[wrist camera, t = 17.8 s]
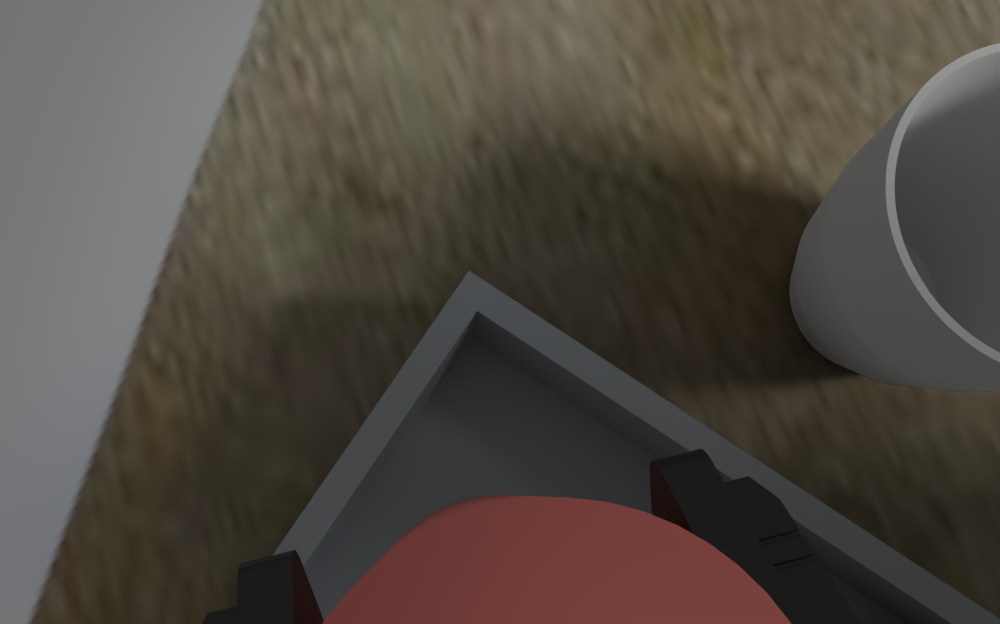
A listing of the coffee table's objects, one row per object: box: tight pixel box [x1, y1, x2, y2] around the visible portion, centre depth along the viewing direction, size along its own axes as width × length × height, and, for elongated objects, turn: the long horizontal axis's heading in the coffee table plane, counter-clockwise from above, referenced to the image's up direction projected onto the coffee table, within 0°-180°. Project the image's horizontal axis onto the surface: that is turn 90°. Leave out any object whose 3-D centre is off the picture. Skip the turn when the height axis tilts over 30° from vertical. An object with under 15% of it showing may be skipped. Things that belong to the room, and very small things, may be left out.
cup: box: [789, 43, 1000, 392], centre depth 26 cm, size 8×8×10 cm
